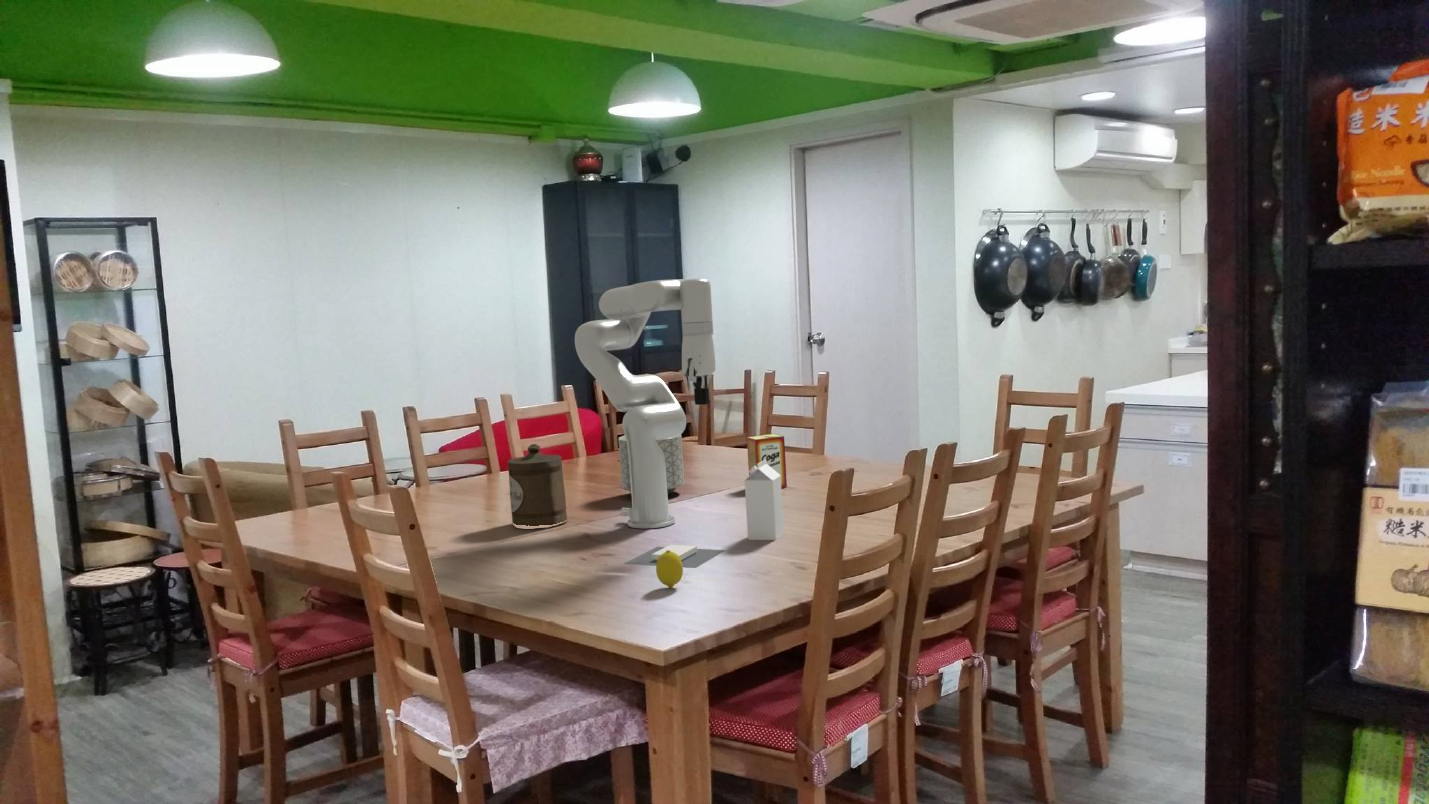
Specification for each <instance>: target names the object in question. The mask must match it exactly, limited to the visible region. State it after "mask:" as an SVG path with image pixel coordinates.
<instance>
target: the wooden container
mask: <svg viewBox="0 0 1429 804" xmlns="http://www.w3.org/2000/svg"><path fill="white" fill-rule="evenodd" d="M527 450H528V453H527V454H526V456H519V457H514V458H511V459H509V460H507V471H508V481H509V482H508V483H509V498H510V510H511V519H512V520H511V522H512V524H513V523H514V524H516V525H526V526H528V525H529V526H539V525H553V524H557V523H560V522H564V521H565V520H567V521H568V514H567V513H568V512H567V503H566V501H567V499H566V491H565V483H564V472H563V461H562V455H558V454H542V453H541V452H540V450H541V446H540V445H538V444H536V443H535V444H530V445H529V446H528V447H527Z"/></svg>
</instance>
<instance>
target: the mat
mask: <svg viewBox="0 0 1429 804" xmlns="http://www.w3.org/2000/svg"><path fill="white" fill-rule="evenodd" d="M665 547H666V546H655V547H654V548H652V549H650V550H648V551H646V552H644V553H642V554H640V555H638V556H636V557H634V558H633V559H631V560H628V561H627V562H625V563H623V564H624V565H625V564H626V565H638V566H639V565H642V566H655V567H656V565H657V561H653V559H652V554H653V553H655V552H657V551H659V550H661V549H663V548H665ZM725 551H727V550H726V549H709V548H707V549H706V548H697V552H696V554H694V555H692V556H690V557H688V558H687V559H685V560H683V561H681V562H682V565H683V568H692V569H693V568H694V569H696V568H699V567H700V566H702V565H703V564H705V563H707V562H708V561H710V560H712V559H714V558H715V557H717V556H719V555H720V554H722V553H724V552H725Z"/></svg>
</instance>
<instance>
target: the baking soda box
mask: <svg viewBox="0 0 1429 804" xmlns="http://www.w3.org/2000/svg"><path fill="white" fill-rule="evenodd" d="M746 444H747V462H748V463H747V464H748V477H749V476H750V475H751V473H750V472H749V470H750V469H751V468H753V467H754V466H756V467H757V464H758V463H760V462H761V461H763V460H765V459H766V463H767V464H768V465H769V466H770V467H771V468H772V469H774V470H775V471H776V472H777V473H778V474H780V475H781V489H783V488H784V489H785V487H786V488H787V487H788V483H787V480H788V479H787V466H786V465H787V464H786V463H787V462H786V461H787V460H786V448H785V447H786V445H785V436H784V435H780V434H775V433H774V434H762V435H756V436H748V437H746Z"/></svg>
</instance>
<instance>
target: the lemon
mask: <svg viewBox="0 0 1429 804" xmlns="http://www.w3.org/2000/svg"><path fill="white" fill-rule="evenodd" d="M655 571H656V572H655V573H656V576H657V579H658V580H659V582H660V583H661V584H662V585H665V586H667V588H669V589H672V588H673V587H674V586H675V585H677V584H678V583H679V582H680V581H681V580H682V577H683V573H684V567H683V565H682V562H681V559H680V557H679V556H678V555H677V554H676V553H674V552H671V551H670V550H667V551H666V552H665V553H663V554H661V555H660V557H659V558H658V560H657V565H656V566H655Z"/></svg>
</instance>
